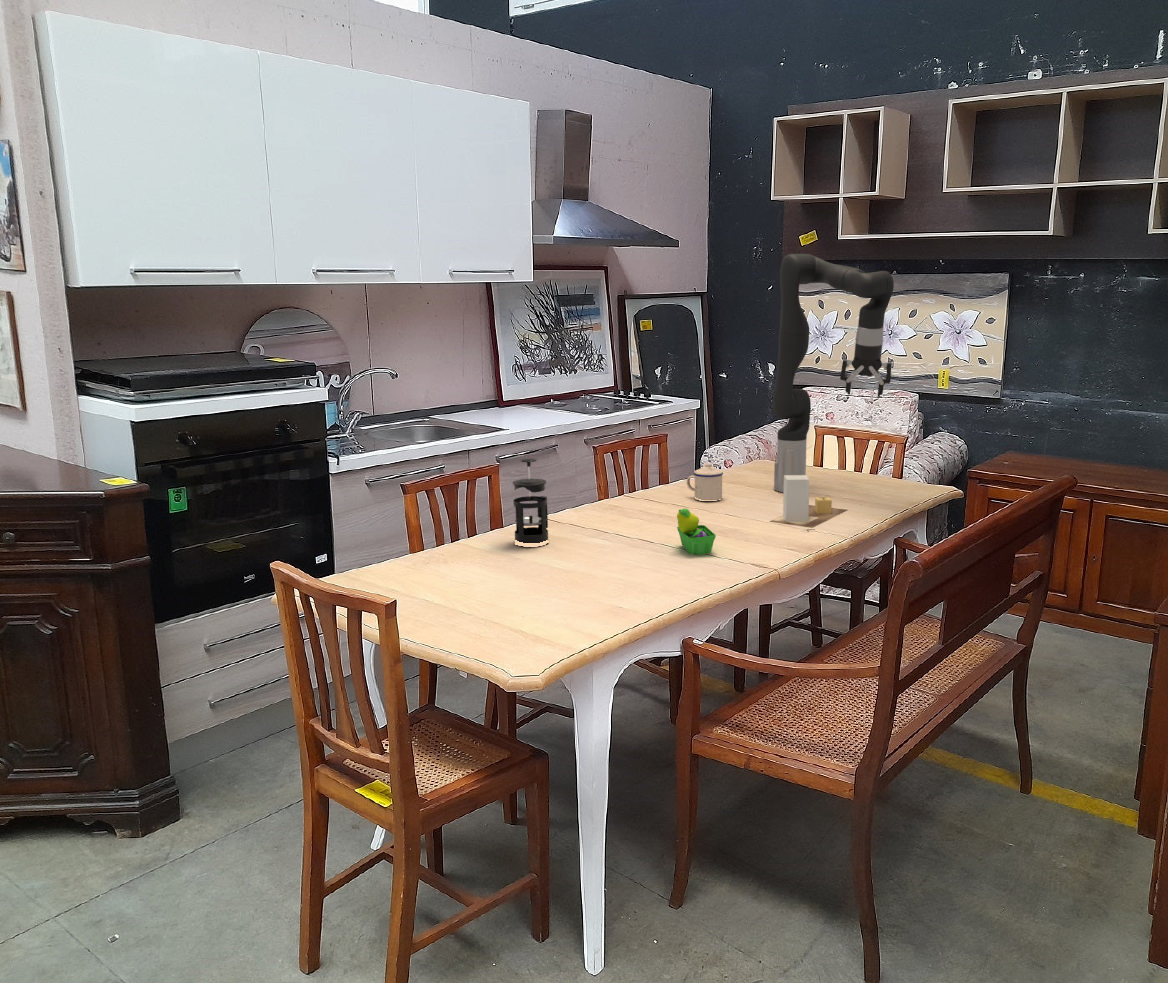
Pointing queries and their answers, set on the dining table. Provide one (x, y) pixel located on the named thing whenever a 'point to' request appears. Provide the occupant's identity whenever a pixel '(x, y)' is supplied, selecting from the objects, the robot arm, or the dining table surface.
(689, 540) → the fruit basket
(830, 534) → the dining table surface
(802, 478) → the white rounded block
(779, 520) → the board
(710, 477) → the teacup with lid
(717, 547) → the dining table surface
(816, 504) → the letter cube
